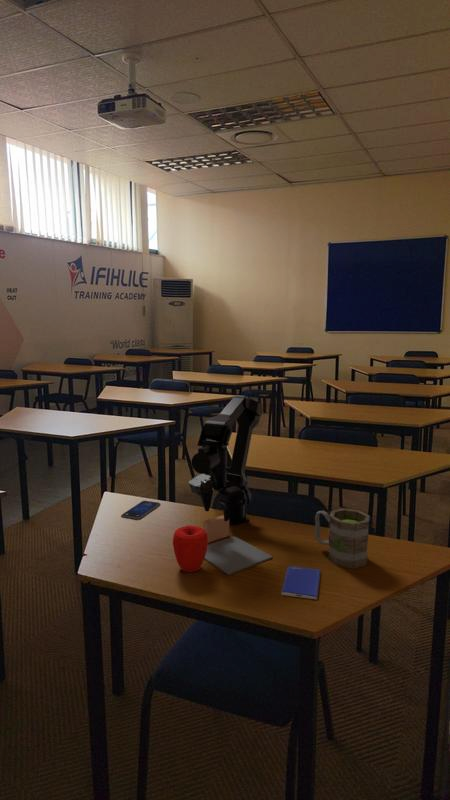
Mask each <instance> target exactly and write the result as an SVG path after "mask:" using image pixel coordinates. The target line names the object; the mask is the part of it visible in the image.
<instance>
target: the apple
mask: <svg viewBox="0 0 450 800" xmlns="http://www.w3.org/2000/svg"><path fill="white" fill-rule="evenodd" d="M208 545H209V542H208V537H207V533H206V531H205V530H204V529H203V527H200V526H196V525H195V526H194V525H185V526H181V527H178V528H177V529H176V530H174V533H173V537H172V547H173V552H174V556H175V559H176V562H177V564H178V566H179V568H180V569H181V570H182V571H183V572H188V573H191V572H192V573H193V572H197V571H198V570H200V569H201V567H202V565H203V563H204V561H205V559H204V558H205V555H206V551H207V547H208Z"/></svg>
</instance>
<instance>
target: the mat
mask: <svg viewBox="0 0 450 800" xmlns="http://www.w3.org/2000/svg"><path fill="white" fill-rule="evenodd" d="M271 559H273V556H272V555H270V554H269V553H267V552H265V551H263V550H261V549H259V548H258V547H255V546H254V545H252V544H250V543H248V542H246V541H244V540H243V539H240V538H239V537H237V536H235V535H234V536H231V537H228V538H225V539H222V540H219V541H215V542H213V543H208V547H207V551H206V555H205V558H204V561H206V562H208V563H209V564H211V565H213V566H214V567H216V568H217V569H219V570H220V571H222V572H223V573H225V574H227V575H232V574H234V573H237V572H239V571H242V570H245V569H247V568H250V567H253V566H256V565H257V564H261V563H263V562H266V561H267V560H268V561H269V560H271Z"/></svg>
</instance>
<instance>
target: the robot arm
mask: <svg viewBox="0 0 450 800" xmlns="http://www.w3.org/2000/svg"><path fill="white" fill-rule="evenodd" d="M263 409H264V407H263V406H262V404H261V403H260V402H259V401H257V400H254V399H253V398H251V397H250V396H248V395H241V394H234V395H232V397H231V400H230V401H229V403H227V405H226V406H225V407H224V408H223V409H222V411H221V412H220V413H219V414H218V415H214V416H211V417H209V419H206V421H205V422H204V424H203V425H202V427H201V431H200V434H199V438H198V441H197V447H198V449H197V453H195V454H194V455H193V456H192V459H191V460H190V461H191V462H190V463H191V467H192V469H193V470H194V471H195V472H196V473H198V475H194V476H191V478H190V479H189V481H188V485H189V488H190V490H191V493H192V494H195V495H196V496H200V498H201V499H200V500H201V502H202V505H203V509H204V511H205V512H206V513H207V512H209V511H210V508H211V504H212V498H213V494H214V491H216V492H218V494H219V498H220V500H218V501H219V503H221V504H222V507H223V508H222V510H223V515H224V521H228V520H229V524H232V525H235V526H236V525H239V524H242V523H245V522H248V521H250V518H249V517H247V505H250V504H251V500H252V492H251V491H250V489H249V487H248V483H249V482H248V479H247V477H246V474H245V472H246V467H247V461H248V456H249V451H250V446H251V441H252V436H253V431H254V429H255V428H256V427H257V425H258V424H259V423H260V421H261V417H262V415H263ZM235 422H237V432H236V436H235V441H234V446H233V451H232V457H231V463H230V466H227V465H228V464H227V463H228V446H229V444H230V443H229V442H230V439H231V437H232V434H233V430H232V427H233V425H234V424H235Z"/></svg>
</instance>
